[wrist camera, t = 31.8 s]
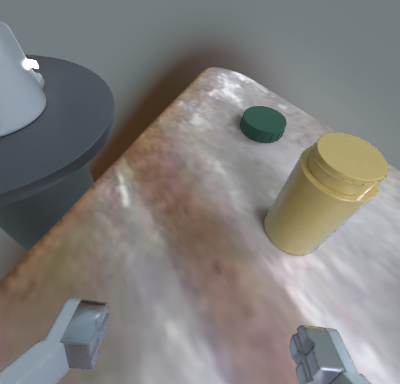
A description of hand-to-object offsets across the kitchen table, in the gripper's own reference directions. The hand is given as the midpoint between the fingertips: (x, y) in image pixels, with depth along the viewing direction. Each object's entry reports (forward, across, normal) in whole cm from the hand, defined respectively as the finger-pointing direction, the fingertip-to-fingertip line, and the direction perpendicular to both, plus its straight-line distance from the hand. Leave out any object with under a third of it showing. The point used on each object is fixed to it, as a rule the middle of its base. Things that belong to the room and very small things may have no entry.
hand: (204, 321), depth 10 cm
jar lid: (+28, +8, +2) cm, 30 cm away
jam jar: (+14, +10, -5) cm, 18 cm away
